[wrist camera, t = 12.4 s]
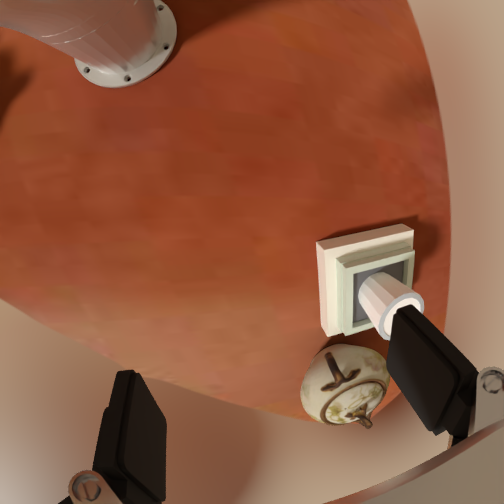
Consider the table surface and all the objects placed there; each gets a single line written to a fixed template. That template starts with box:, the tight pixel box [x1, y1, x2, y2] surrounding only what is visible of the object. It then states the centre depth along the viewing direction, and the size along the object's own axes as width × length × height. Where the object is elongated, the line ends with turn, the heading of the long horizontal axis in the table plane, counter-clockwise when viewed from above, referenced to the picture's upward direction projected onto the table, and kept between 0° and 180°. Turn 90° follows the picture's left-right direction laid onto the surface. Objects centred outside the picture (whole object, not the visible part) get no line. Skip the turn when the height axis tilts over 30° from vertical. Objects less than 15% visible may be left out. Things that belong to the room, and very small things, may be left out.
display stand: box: [316, 224, 415, 337], centre depth 41 cm, size 14×14×6 cm
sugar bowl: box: [301, 344, 390, 429], centre depth 42 cm, size 20×15×15 cm
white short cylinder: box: [358, 272, 424, 341], centre depth 36 cm, size 7×7×7 cm
